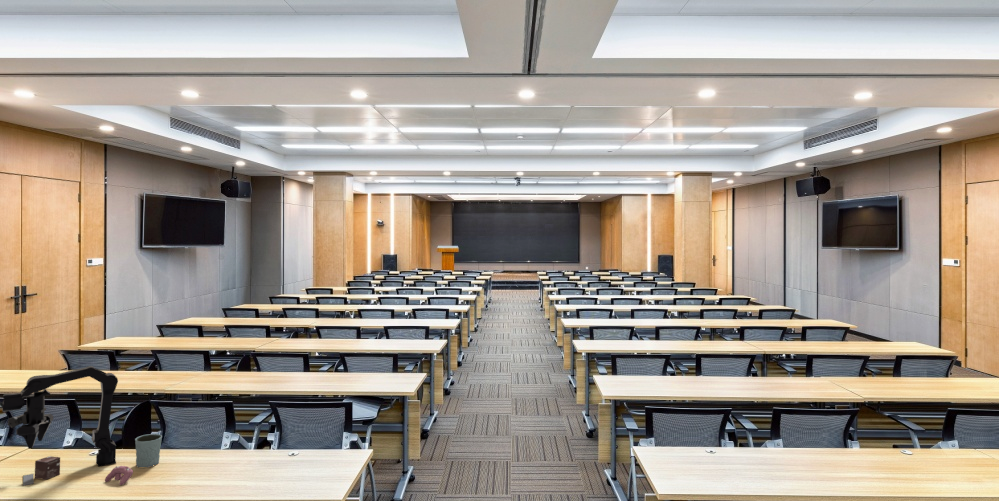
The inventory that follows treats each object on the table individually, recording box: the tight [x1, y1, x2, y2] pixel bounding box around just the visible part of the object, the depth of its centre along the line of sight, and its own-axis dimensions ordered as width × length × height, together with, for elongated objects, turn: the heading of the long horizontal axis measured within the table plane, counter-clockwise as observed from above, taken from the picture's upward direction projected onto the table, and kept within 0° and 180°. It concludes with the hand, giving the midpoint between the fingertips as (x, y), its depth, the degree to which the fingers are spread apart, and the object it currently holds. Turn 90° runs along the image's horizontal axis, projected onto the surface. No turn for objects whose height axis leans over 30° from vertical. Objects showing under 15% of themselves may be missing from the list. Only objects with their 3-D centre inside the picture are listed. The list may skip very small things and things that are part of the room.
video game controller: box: [104, 465, 134, 486], centre depth 227 cm, size 10×5×7 cm, turn 71°
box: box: [34, 455, 61, 480], centre depth 230 cm, size 6×6×7 cm
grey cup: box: [134, 433, 163, 468], centre depth 246 cm, size 10×10×12 cm
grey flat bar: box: [22, 473, 35, 487], centre depth 226 cm, size 3×12×1 cm, turn 41°
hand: (35, 444), depth 229 cm, fingers open, 9 cm apart
